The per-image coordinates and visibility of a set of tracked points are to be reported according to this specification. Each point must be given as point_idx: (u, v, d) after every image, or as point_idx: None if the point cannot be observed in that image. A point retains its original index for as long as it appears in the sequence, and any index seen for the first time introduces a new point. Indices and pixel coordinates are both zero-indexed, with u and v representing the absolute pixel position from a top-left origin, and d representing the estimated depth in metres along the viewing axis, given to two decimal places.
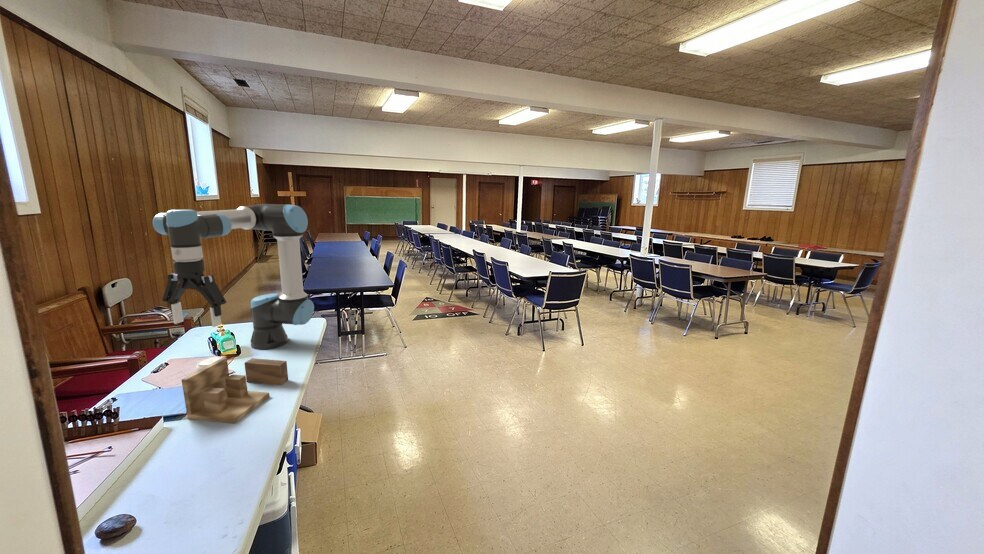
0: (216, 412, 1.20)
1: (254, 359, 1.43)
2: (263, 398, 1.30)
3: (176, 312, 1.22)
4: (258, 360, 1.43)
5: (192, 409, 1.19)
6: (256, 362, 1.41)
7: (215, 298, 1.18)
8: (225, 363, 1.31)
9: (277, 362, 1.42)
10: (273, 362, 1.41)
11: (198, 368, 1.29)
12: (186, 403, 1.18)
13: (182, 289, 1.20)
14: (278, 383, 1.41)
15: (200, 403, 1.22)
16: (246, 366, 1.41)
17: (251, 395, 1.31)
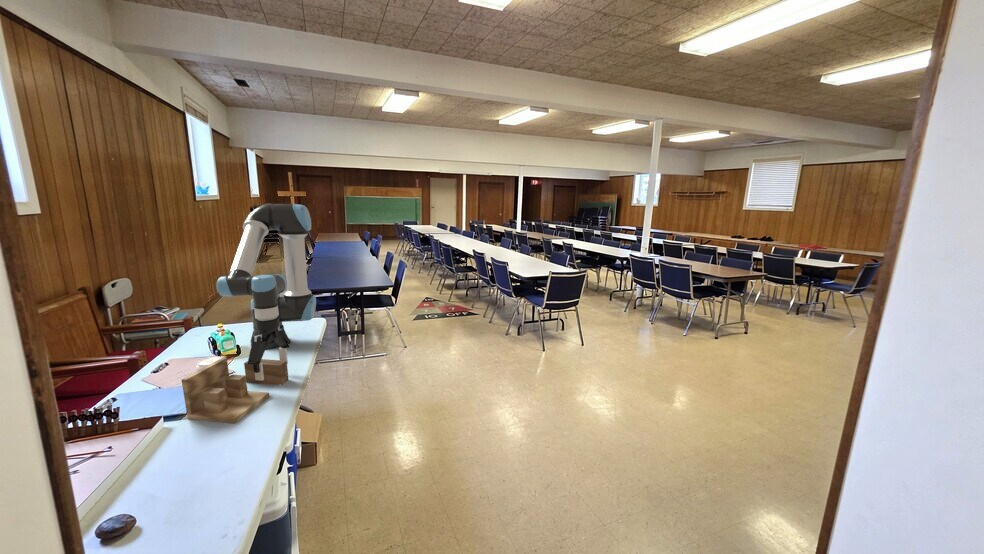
0: (216, 412, 1.20)
1: None
2: (263, 398, 1.30)
3: (281, 355, 1.48)
4: None
5: (192, 409, 1.19)
6: None
7: None
8: (225, 363, 1.31)
9: (277, 362, 1.42)
10: (273, 362, 1.41)
11: (198, 368, 1.29)
12: (186, 403, 1.18)
13: (274, 339, 1.43)
14: (279, 383, 1.41)
15: (200, 403, 1.22)
16: (246, 366, 1.40)
17: (251, 395, 1.31)
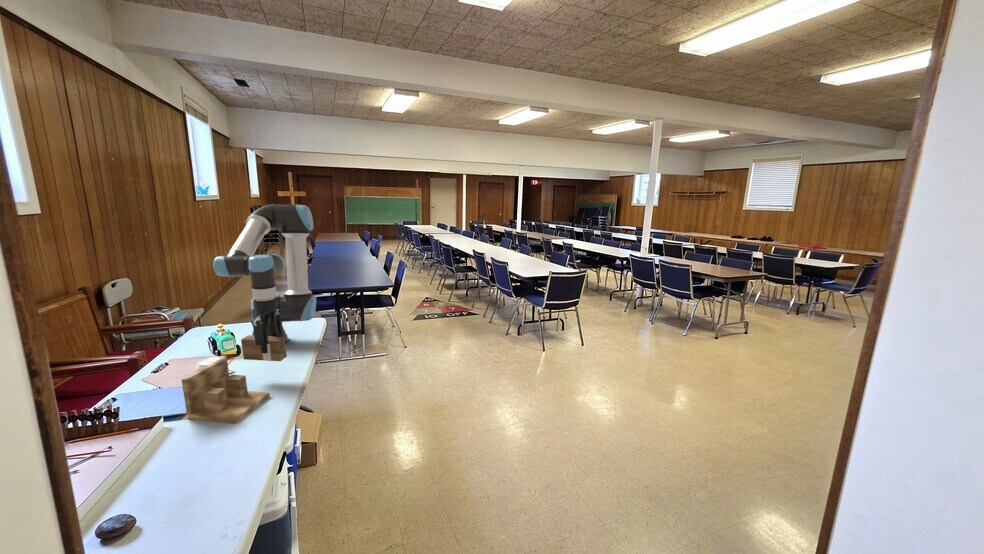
0: (216, 412, 1.20)
1: (251, 336, 1.41)
2: (263, 398, 1.30)
3: None
4: None
5: (192, 409, 1.19)
6: (253, 339, 1.39)
7: None
8: (225, 363, 1.31)
9: (275, 338, 1.40)
10: (271, 338, 1.40)
11: (198, 368, 1.29)
12: (186, 403, 1.18)
13: (270, 323, 1.40)
14: (277, 359, 1.40)
15: (200, 403, 1.22)
16: (243, 343, 1.39)
17: (251, 395, 1.31)
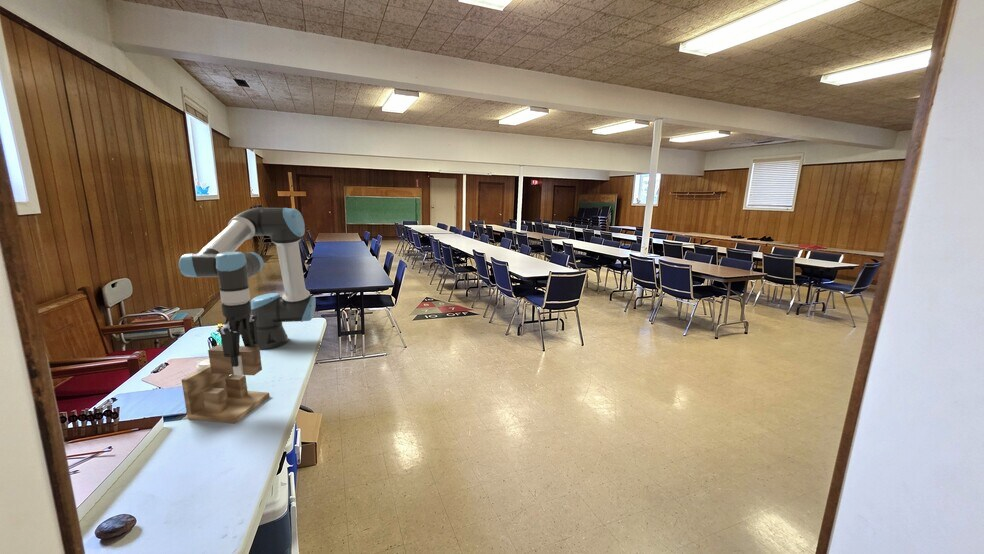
0: (216, 412, 1.20)
1: (221, 346, 1.22)
2: (263, 398, 1.30)
3: None
4: None
5: (192, 409, 1.19)
6: (222, 349, 1.20)
7: None
8: None
9: (248, 348, 1.21)
10: (243, 349, 1.20)
11: (198, 368, 1.29)
12: (186, 403, 1.18)
13: (242, 331, 1.21)
14: (250, 373, 1.20)
15: (200, 403, 1.22)
16: (210, 354, 1.19)
17: (251, 395, 1.31)
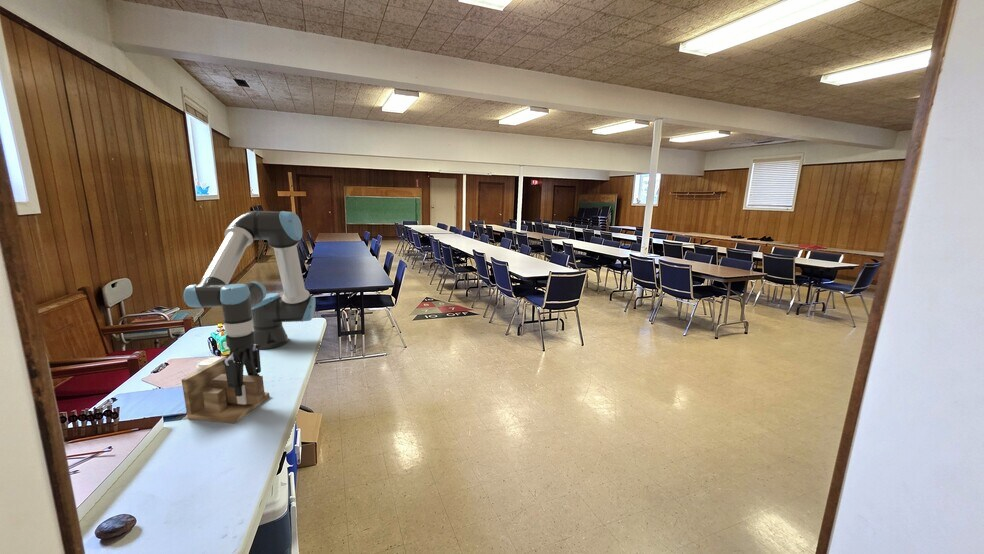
0: (216, 412, 1.20)
1: (224, 375, 1.24)
2: None
3: None
4: None
5: (192, 409, 1.19)
6: (226, 379, 1.22)
7: None
8: None
9: (251, 378, 1.23)
10: (246, 378, 1.23)
11: (198, 368, 1.29)
12: (186, 403, 1.18)
13: (245, 361, 1.23)
14: (253, 402, 1.22)
15: (200, 403, 1.22)
16: (214, 384, 1.22)
17: None
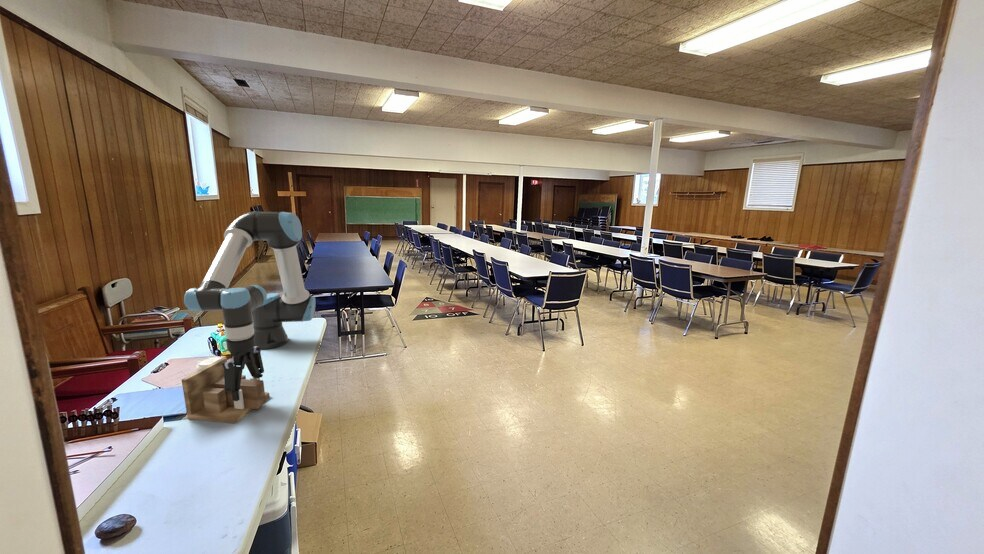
0: (216, 412, 1.20)
1: None
2: None
3: None
4: None
5: (192, 409, 1.19)
6: None
7: None
8: None
9: (252, 382, 1.23)
10: (247, 383, 1.23)
11: (198, 368, 1.29)
12: (186, 403, 1.18)
13: (247, 363, 1.24)
14: (254, 406, 1.23)
15: (200, 403, 1.22)
16: None
17: None
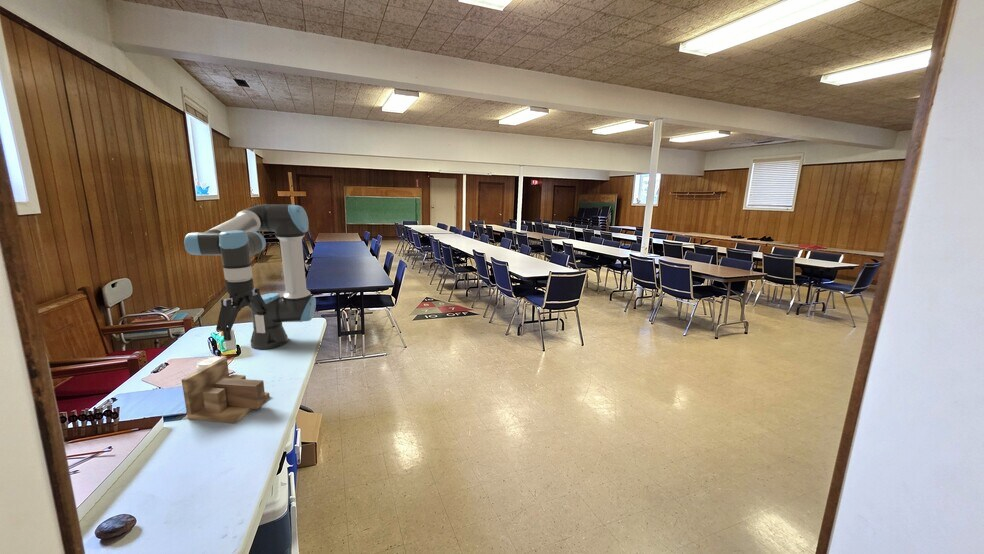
0: (216, 412, 1.20)
1: (226, 379, 1.25)
2: None
3: (257, 322, 1.32)
4: (230, 380, 1.24)
5: (192, 409, 1.19)
6: (227, 383, 1.23)
7: None
8: (225, 363, 1.31)
9: (252, 382, 1.23)
10: (247, 383, 1.23)
11: (198, 368, 1.29)
12: (186, 403, 1.18)
13: (249, 304, 1.27)
14: (254, 406, 1.23)
15: (200, 403, 1.22)
16: None
17: None
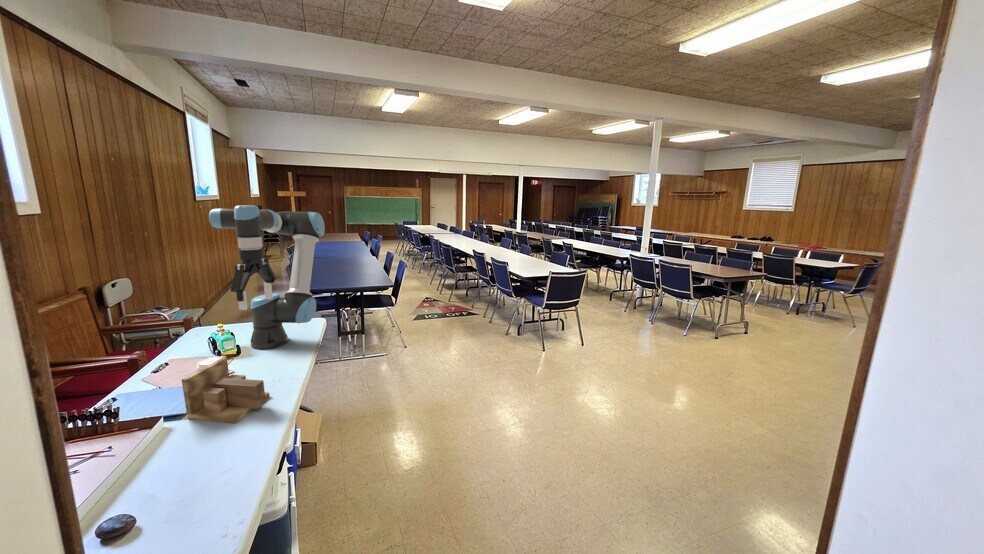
0: (216, 412, 1.20)
1: (226, 379, 1.25)
2: None
3: (266, 289, 1.48)
4: (230, 380, 1.24)
5: (192, 409, 1.19)
6: (227, 383, 1.23)
7: None
8: (225, 363, 1.31)
9: (252, 382, 1.23)
10: (247, 383, 1.23)
11: (198, 368, 1.29)
12: (186, 403, 1.18)
13: (259, 272, 1.43)
14: (254, 406, 1.23)
15: (200, 403, 1.22)
16: None
17: None
